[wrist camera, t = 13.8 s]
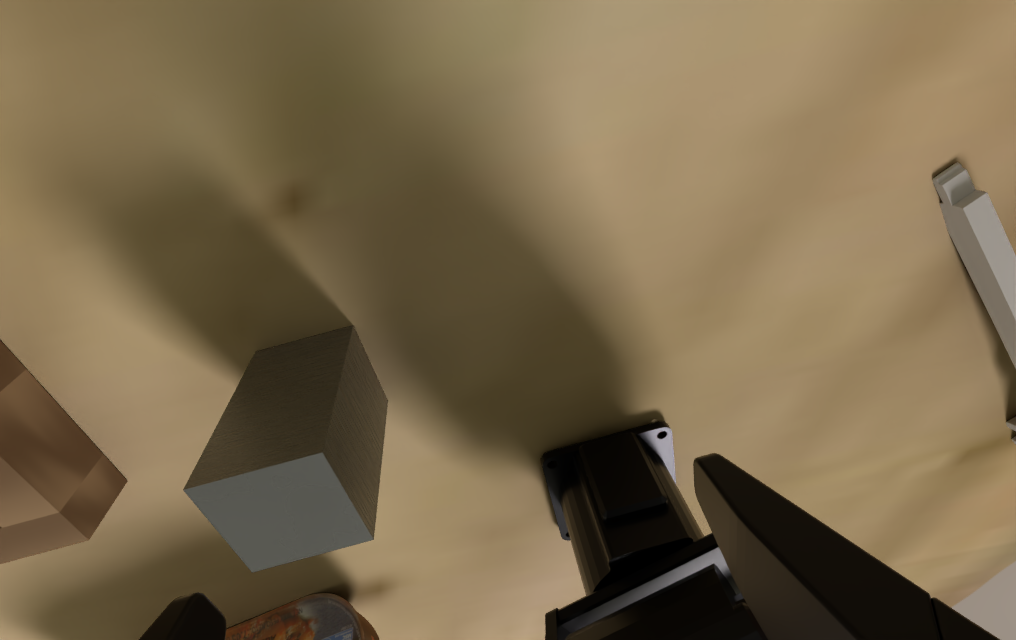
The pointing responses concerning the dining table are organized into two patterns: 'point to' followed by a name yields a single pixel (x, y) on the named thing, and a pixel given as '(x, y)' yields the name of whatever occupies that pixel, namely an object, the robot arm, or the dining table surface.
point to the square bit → (296, 453)
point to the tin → (307, 622)
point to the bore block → (46, 470)
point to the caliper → (982, 251)
